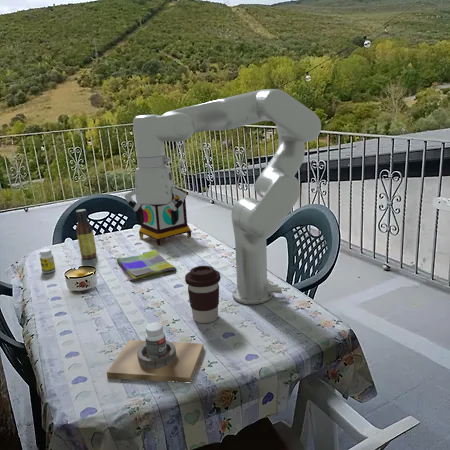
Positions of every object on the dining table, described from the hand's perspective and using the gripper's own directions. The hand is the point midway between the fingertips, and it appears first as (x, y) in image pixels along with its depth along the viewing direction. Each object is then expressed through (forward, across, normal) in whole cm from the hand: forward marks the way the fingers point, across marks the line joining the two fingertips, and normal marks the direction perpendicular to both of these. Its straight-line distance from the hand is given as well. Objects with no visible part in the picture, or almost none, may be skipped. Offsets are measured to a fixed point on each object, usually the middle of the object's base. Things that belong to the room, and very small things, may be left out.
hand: (157, 223), depth 124 cm
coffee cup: (+28, -12, +1) cm, 31 cm away
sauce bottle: (+28, +47, -45) cm, 71 cm away
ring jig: (+28, -5, +24) cm, 37 cm away
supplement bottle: (+28, +56, -30) cm, 70 cm away
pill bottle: (+27, -5, +24) cm, 36 cm away
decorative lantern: (+28, +22, -70) cm, 79 cm away
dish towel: (+29, +19, -36) cm, 50 cm away
